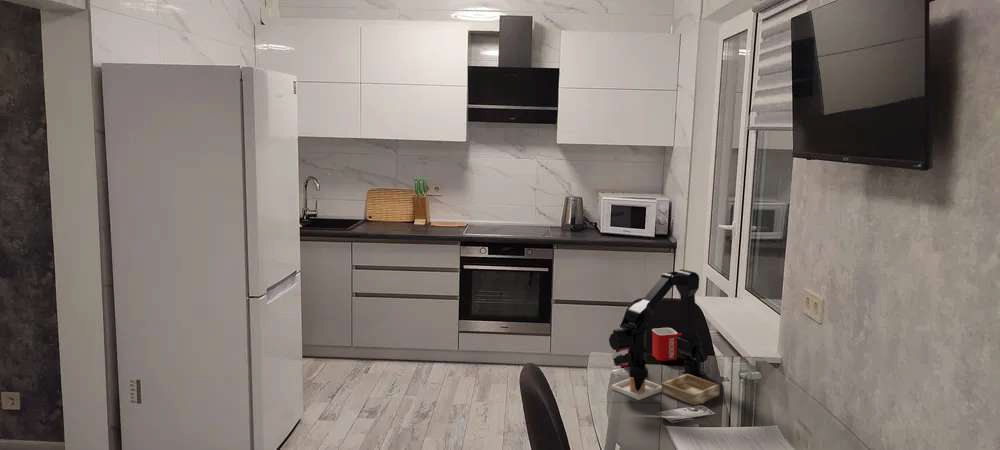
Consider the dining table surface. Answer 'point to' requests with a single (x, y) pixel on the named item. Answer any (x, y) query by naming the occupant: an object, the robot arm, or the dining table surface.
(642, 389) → the clay block
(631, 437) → the dining table surface
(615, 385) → the tray
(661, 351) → the mug
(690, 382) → the wooden bin
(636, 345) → the robot arm
